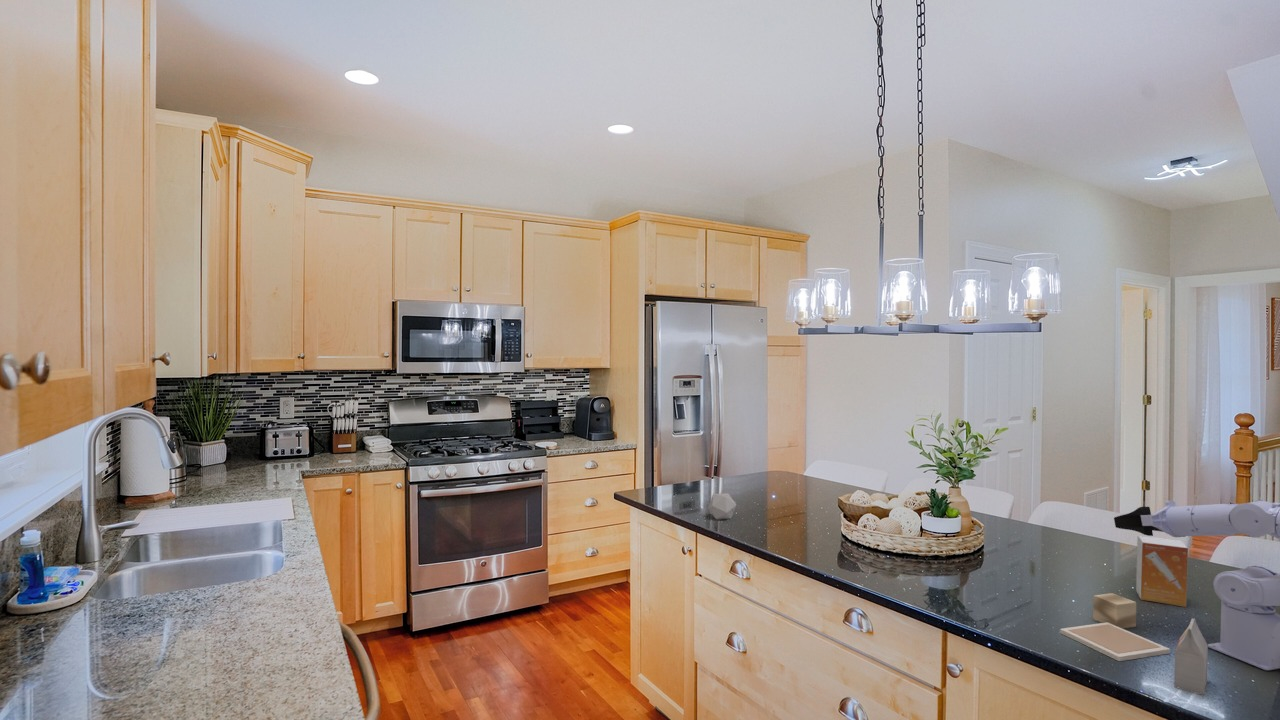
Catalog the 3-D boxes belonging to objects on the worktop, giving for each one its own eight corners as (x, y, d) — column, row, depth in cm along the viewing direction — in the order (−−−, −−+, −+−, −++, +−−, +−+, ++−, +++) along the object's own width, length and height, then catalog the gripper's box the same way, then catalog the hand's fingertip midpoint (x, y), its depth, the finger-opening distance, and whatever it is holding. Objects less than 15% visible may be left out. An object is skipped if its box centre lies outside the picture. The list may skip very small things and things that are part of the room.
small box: (1140, 600, 145) (1141, 541, 144) (1135, 591, 150) (1136, 534, 150) (1187, 607, 141) (1188, 547, 140) (1180, 598, 146) (1181, 540, 146)
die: (731, 524, 208) (743, 498, 211) (708, 511, 208) (720, 484, 211) (723, 527, 215) (735, 501, 219) (700, 514, 215) (713, 488, 219)
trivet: (1169, 653, 120) (1170, 648, 120) (1119, 661, 116) (1119, 656, 116) (1107, 626, 131) (1107, 621, 131) (1059, 632, 128) (1059, 628, 128)
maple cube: (1135, 626, 131) (1136, 602, 131) (1116, 629, 130) (1117, 604, 130) (1112, 617, 136) (1112, 593, 136) (1093, 619, 135) (1093, 595, 135)
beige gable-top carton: (1207, 680, 110) (1208, 621, 110) (1203, 695, 105) (1205, 633, 105) (1178, 672, 113) (1179, 614, 112) (1174, 686, 108) (1175, 626, 108)
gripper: (1219, 500, 129) (1147, 504, 141) (1171, 497, 124) (1100, 502, 136) (1228, 537, 127) (1154, 538, 139) (1180, 536, 122) (1107, 537, 134)
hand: (1128, 523), depth 138 cm, fingers open, 7 cm apart
